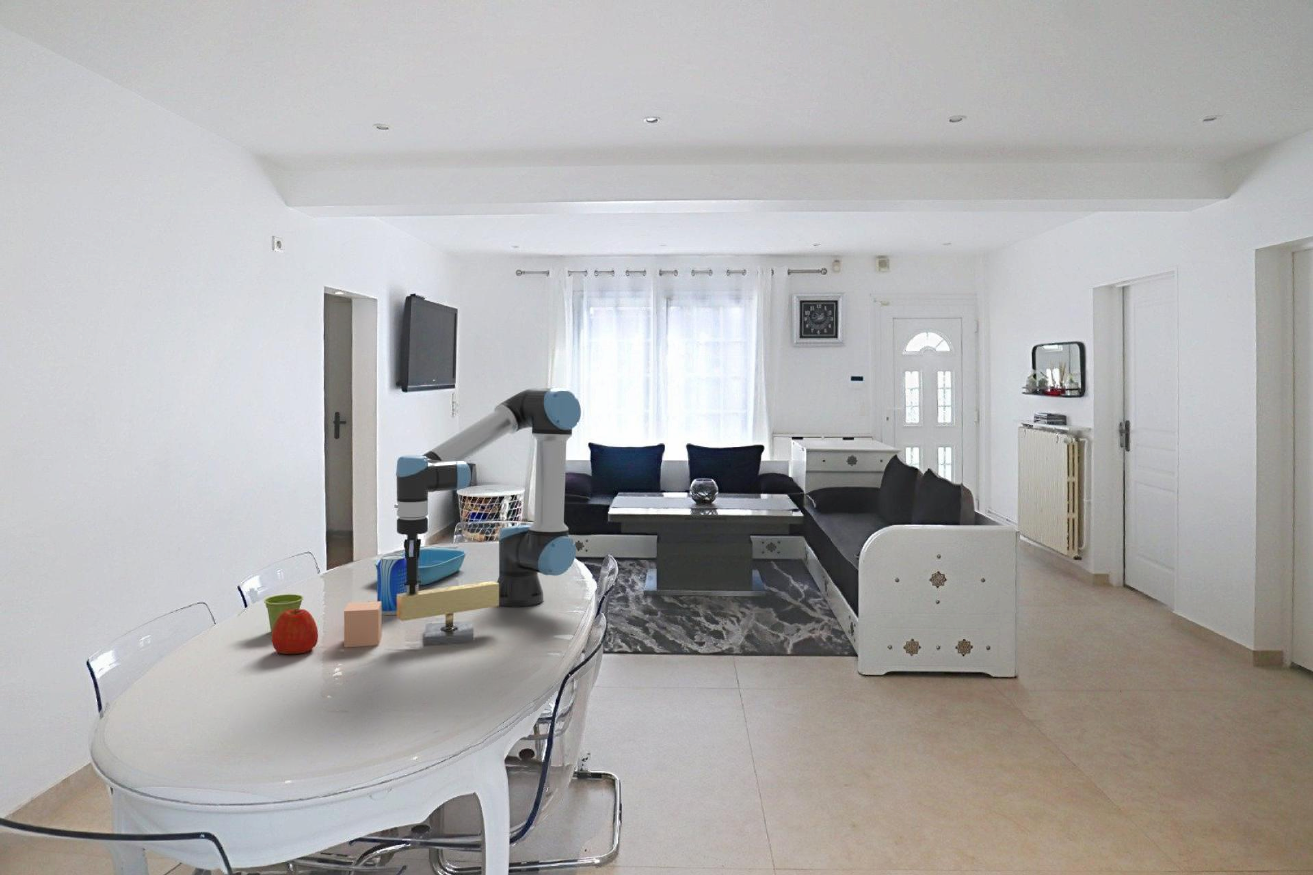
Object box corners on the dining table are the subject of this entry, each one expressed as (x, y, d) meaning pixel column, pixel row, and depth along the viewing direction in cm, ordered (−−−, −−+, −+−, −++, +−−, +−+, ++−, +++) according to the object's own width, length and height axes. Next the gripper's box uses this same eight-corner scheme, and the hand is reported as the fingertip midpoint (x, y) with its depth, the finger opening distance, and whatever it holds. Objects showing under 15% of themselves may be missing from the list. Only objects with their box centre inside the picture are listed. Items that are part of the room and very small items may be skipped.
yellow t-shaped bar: (493, 617, 214) (493, 580, 214) (498, 620, 211) (499, 583, 211) (396, 632, 199) (396, 593, 198) (401, 636, 196) (401, 596, 196)
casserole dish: (418, 564, 293) (418, 545, 293) (475, 567, 289) (475, 548, 289) (362, 587, 257) (362, 565, 257) (426, 591, 253) (426, 569, 253)
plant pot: (311, 628, 211) (311, 596, 210) (284, 638, 202) (284, 604, 201) (283, 624, 214) (283, 592, 213) (255, 634, 205) (255, 601, 204)
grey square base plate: (472, 628, 213) (472, 620, 213) (473, 641, 201) (473, 633, 201) (426, 631, 210) (426, 622, 210) (424, 644, 198) (424, 636, 198)
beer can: (398, 616, 223) (398, 560, 222) (371, 614, 224) (371, 558, 224) (413, 609, 231) (413, 554, 230) (387, 607, 233) (387, 553, 232)
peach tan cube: (381, 635, 205) (381, 601, 205) (378, 645, 197) (378, 609, 197) (348, 637, 203) (348, 602, 203) (344, 647, 195) (344, 611, 195)
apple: (272, 660, 185) (271, 616, 184) (271, 648, 194) (270, 605, 193) (319, 654, 190) (319, 611, 189) (316, 642, 199) (316, 601, 198)
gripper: (398, 513, 205) (399, 603, 207) (394, 521, 193) (395, 617, 194) (429, 512, 207) (429, 601, 208) (426, 521, 194) (426, 615, 196)
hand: (412, 609), depth 201 cm, fingers closed
